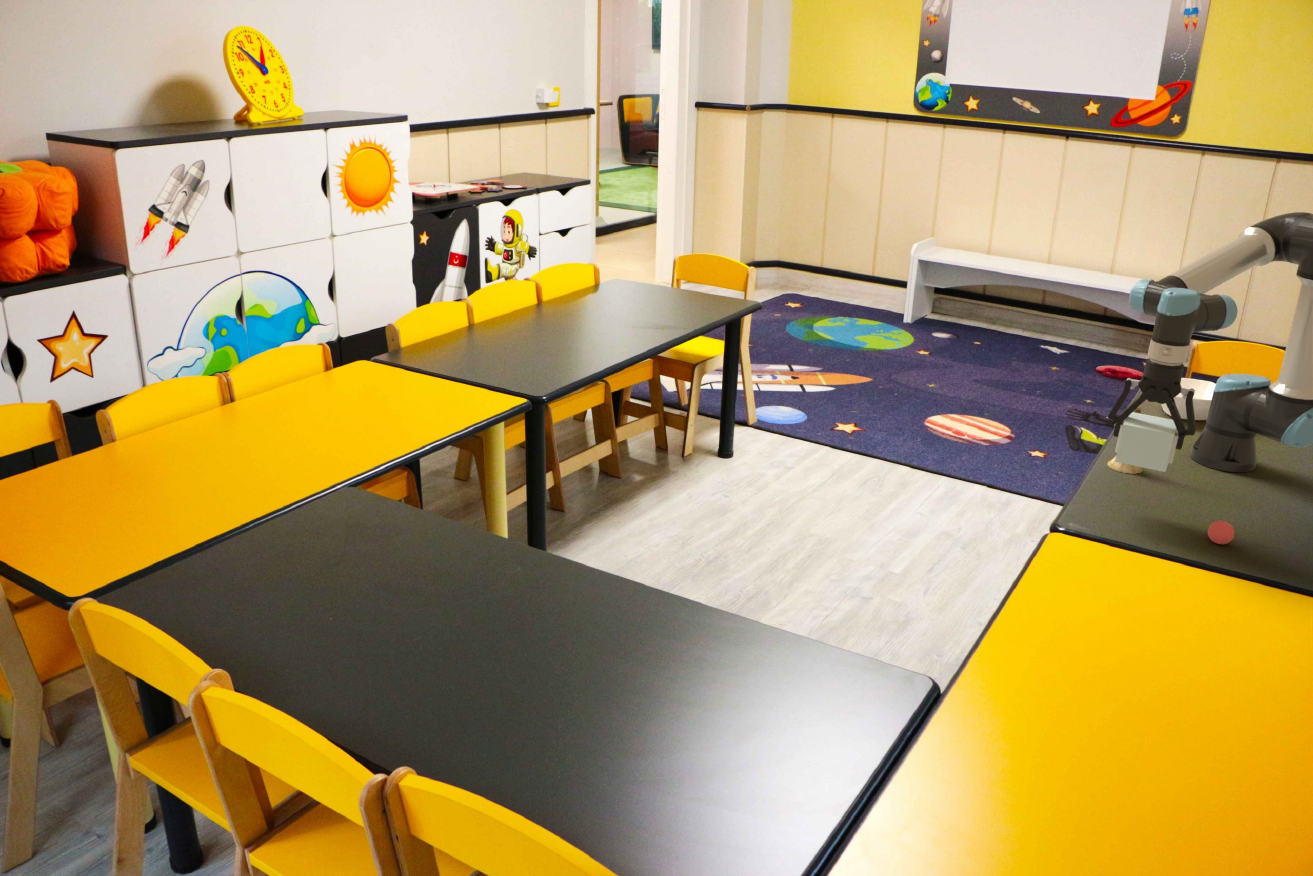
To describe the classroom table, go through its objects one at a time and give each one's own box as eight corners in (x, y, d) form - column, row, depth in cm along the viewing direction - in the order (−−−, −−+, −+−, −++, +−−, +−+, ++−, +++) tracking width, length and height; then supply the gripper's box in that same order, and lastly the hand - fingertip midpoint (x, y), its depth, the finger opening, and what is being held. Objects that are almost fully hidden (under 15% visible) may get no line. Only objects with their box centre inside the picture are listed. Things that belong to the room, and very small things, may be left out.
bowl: (1156, 424, 288) (1163, 396, 285) (1136, 401, 307) (1142, 374, 304) (1233, 431, 286) (1241, 402, 282) (1209, 407, 305) (1216, 380, 301)
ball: (1214, 535, 222) (1220, 515, 220) (1236, 545, 218) (1242, 524, 216) (1200, 540, 219) (1205, 519, 218) (1222, 550, 215) (1227, 529, 214)
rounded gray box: (1121, 447, 234) (1129, 411, 231) (1170, 457, 229) (1179, 420, 226) (1115, 461, 226) (1123, 424, 222) (1165, 472, 221) (1174, 434, 218)
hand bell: (1146, 476, 252) (1160, 415, 247) (1110, 472, 254) (1124, 412, 248) (1138, 463, 260) (1152, 404, 254) (1104, 459, 261) (1116, 401, 256)
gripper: (1106, 355, 221) (1086, 449, 229) (1223, 375, 211) (1198, 473, 219) (1111, 347, 227) (1092, 439, 235) (1225, 366, 217) (1201, 462, 225)
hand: (1143, 456), depth 227 cm, fingers closed on rounded gray box, 10 cm apart
